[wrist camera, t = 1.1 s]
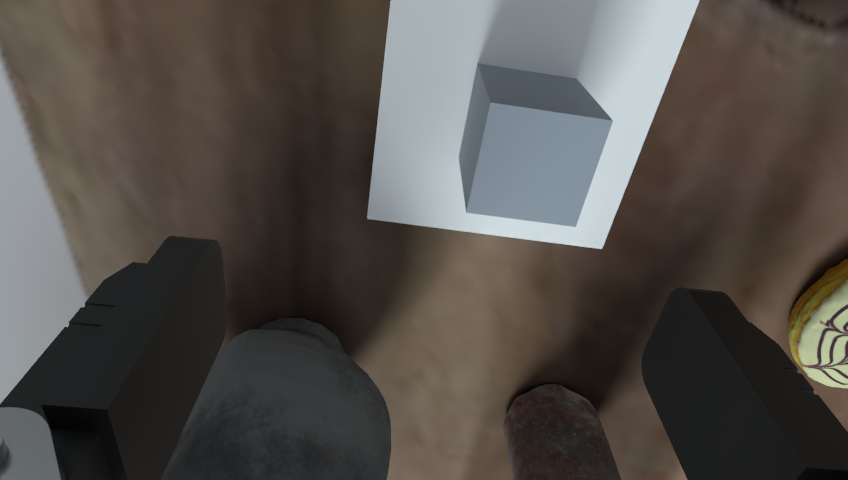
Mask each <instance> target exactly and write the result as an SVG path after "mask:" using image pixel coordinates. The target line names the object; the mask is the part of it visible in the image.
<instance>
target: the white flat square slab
mask: <svg viewBox="0 0 848 480" xmlns="http://www.w3.org/2000/svg"><path fill="white" fill-rule="evenodd" d="M698 3H699V0H391V1H390V10H389V20H388V29H387V38H386V47H385V57H384V66H383V75H382V84H381V93H380V103H379V112H378V121H377V130H376V140H375V149H374V158H373V167H372V176H371V186H370V195H369V204H368V213H367V219H372V220H380V221H387V222H395V223H403V224H411V225H419V226H426V227H434V228H442V229H450V230H457V231H465V232H473V233H481V234H489V235H496V236H504V237H512V238H520V239H527V240H535V241H543V242H551V243H559V244H566V245H574V246H582V247H590V248H597V249H602V248H603V245H604V243H605V240H606V238H607V235H608V232H609V230H610V227H611V225H612V222H613V220H614V217H615V215H616V212H617V210H618V207H619V204H620V202H621V199H622V197H623V194H624V192H625V189H626V187H627V184H628V181H629V179H630V176H631V174H632V171H633V169H634V166H635V164H636V161H637V158H638V156H639V153H640V151H641V148H642V146H643V143H644V141H645V138H646V136H647V133H648V130H649V128H650V125H651V123H652V120H653V118H654V115H655V113H656V110H657V107H658V105H659V102H660V100H661V97H662V95H663V92H664V90H665V87H666V85H667V82H668V79H669V77H670V74H671V72H672V69H673V67H674V64H675V62H676V59H677V56H678V54H679V51H680V49H681V46H682V44H683V41H684V39H685V36H686V34H687V31H688V28H689V26H690V23H691V21H692V18H693V16H694V13H695V11H696V8H697V5H698ZM477 63H479V64H485V65H492V66H498V67H505V68H511V69H518V70H524V71H531V72H537V73H543V74H550V75H556V76H563V77H569V78H576V79H577V80H578V81H579V82H580V83H581V84H582V85H583V86H584V88H585V89H586V90H587V91H588V92H589V93H590V95H591V96H592V97H593V98H594V99H595V100H596V101H597V103H598V104H599V105H600V106H601V107H602V108H603V110H604V111H605V112H606V113H607V114H608V115H609V116H610V118H611V119H612V120H613V123H612V125H611V128H610V131H609V134H608V137H607V140H606V143H605V145H604V148H603V151H602V154H601V157H600V160H599V162H598V165H597V168H596V171H595V174H594V177H593V180H592V182H591V185H590V188H589V191H588V194H587V197H586V199H585V202H584V205H583V208H582V211H581V214H580V216H579V219H578V222H577V225H576V227H572V226H564V225H556V224H549V223H541V222H534V221H526V220H518V219H511V218H503V217H496V216H488V215H480V214H473V213H466V207H465V200H464V193H463V186H462V179H461V172H460V164H459V153H460V148H461V143H462V138H463V133H464V128H465V123H466V118H467V113H468V108H469V103H470V98H471V93H472V88H473V83H474V78H475V73H476V68H477Z"/></svg>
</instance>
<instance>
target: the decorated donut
mask: <svg viewBox="0 0 848 480" xmlns="http://www.w3.org/2000/svg"><path fill="white" fill-rule="evenodd" d="M791 310H792V311H791V315H790V317H789V320H788V321H789V324H788V329H787V332H788V341H789V345H790V349H791V352H792V355H793V358H794V359H795V361H796V362H797V364H798V365H799V366H800V367H801V368H802V369H803V370H804V371H805V372H806V373H807V375H808V376H809V377H811V378H812V379H813V380H816V381H818V382H820V383H823V384H825V385H827V386H832V387H840V388H848V258H847V259H845V260H844V261H842V262H840V264H838V265H837V266H834V267H831V268H829V269H828V270H827V271H826V272H825V274H824V275H823V276H822V277H821V278H820V279H819V280H818V281H817V282H816V283H815V284H813V285H812V286H811V287H810V288H808V290H807V291H806V292H805V293H804V294H802V296H801V297H800V298H799V300H798V301H797V302H796V303H795V305H794V308H793V309H791Z"/></svg>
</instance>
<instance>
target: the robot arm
mask: <svg viewBox="0 0 848 480" xmlns="http://www.w3.org/2000/svg"><path fill="white" fill-rule="evenodd" d="M226 325H227V302H226V292H225V282H224V272H223V263H222V253H221V248H220V245H219V243H218V241H216V240H207V239H197V238H187V237H177V236H170V237H168V238H167V239H166V240H165V241H164V242H163V243H162V245H161V246H160V247H159V249H158V250H157V251H156V253H155V254H154V255H153V257H152V258H151V259H150V261H149V262H148V263H147V264H146V263H135V262H133V263H131V264H129V265H128V266H126V267H125V268H123V269H121V270H120V271H118V272H116V273H115V274H113V275H112V276H110V277H108V278H107V279H105V280H104V281H103V282H102V283H101V284H100V286H99V287H98V288H97V289H96V290H95V292H94V293H93V294H92V295H91V296H90V298H89V299H88V300H87V301H86V302H85V307H84V308H80V310H79V311H78V312H77V313H76V314H75V316H74V317H73V318H72V319H71V320H70V322H69V326H68V327H65V328H64V329H63V330H62V331H61V332H60V334H59V335H58V336H57V337H56V338H55V340H54V341H53V342H52V343H51V344H50V345H49V347H48V348H47V349H46V350H45V351H44V353H43V354H42V355H41V356H40V357H39V359H38V360H37V361H36V362H35V364H34V365H33V366H32V367H31V368H30V370H29V371H28V372H27V373H26V374H25V375H24V377H23V378H22V379H21V380H20V382H19V383H18V384H17V385H16V386H15V388H14V389H13V390H12V391H11V392H10V394H9V395H8V396H7V397H6V398H5V399H4V401H3V402H2V403H1V404H0V480H161V478H162V476H163V473H164V471H165V469H166V467H167V465H168V462H169V460H170V458H171V456H172V454H173V451H174V449H175V447H176V445H177V443H178V440H179V438H180V436H181V434H182V432H183V429H184V427H185V425H186V423H187V420H188V418H189V416H190V414H191V412H192V409H193V407H194V405H195V403H196V401H197V398H198V396H199V394H200V392H201V390H202V387H203V385H204V383H205V381H206V379H207V376H208V374H209V372H210V370H211V367H212V365H213V363H214V361H215V359H216V356H217V354H218V352H219V350H220V348H221V345H222V342H223V339H224V336H225V331H226ZM642 376H643V380H644V383H645V386H646V388H647V390H648V393H649V395H650V397H651V399H652V401H653V404H654V406H655V408H656V410H657V413H658V415H659V417H660V419H661V421H662V424H663V426H664V428H665V430H666V433H667V435H668V437H669V439H670V442H671V444H672V446H673V448H674V450H675V453H676V455H677V457H678V459H679V462H680V464H681V466H682V468H683V470H684V473H685V475H686V477H687V479H688V480H848V432H847V431H846V430H845V428H844V427H843V426H842V425H841V423H840V422H839V421H838V419H837V418H836V417H835V416H834V414H833V413H832V412H831V411H830V409H829V408H828V407H827V405H826V404H825V403H824V402H823V400H822V399H821V398H820V397H819V395H815V394H814V393H813V390H814V389H813V388H812V386H811V385H810V384H809V383H808V381H807V380H806V379H805V378H804V376H803V375H802V374H798V373H797V367H796V366H795V365H794V364H793V362H792V361H791V360H790V358H789V357H788V356H787V355H786V353H785V352H784V351H783V350H782V348H781V347H780V346H779V345H778V344H777V343H776V342H775V341H773V340H772V339H771V338H770V337H768V336H767V335H766V334H765V333H763V332H762V331H761V330H760V329H758V328H757V327H756V326H754V325H753V324H752V323H749V322H748V321H747V320H746V318H745V317H744V316H743V314H742V313H741V312H740V311H739V309H738V308H737V307H736V305H735V304H734V303H733V301H732V300H731V299H730V297H729V296H728V295H727V294H725V293H723V292H720V291H710V290H699V289H689V288H677V289H675V290H674V291H673V292H672V293H671V294H670V296H669V298H668V300H667V302H666V304H665V306H664V308H663V310H662V312H661V315H660V317H659V319H658V321H657V323H656V325H655V327H654V330H653V332H652V334H651V336H650V338H649V340H648V342H647V345H646V347H645V349H644V352H643V356H642Z"/></svg>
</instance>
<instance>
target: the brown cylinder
mask: <svg viewBox="0 0 848 480" xmlns="http://www.w3.org/2000/svg"><path fill="white" fill-rule="evenodd" d="M503 427H504V433H505V439H506V445H507V450H508V455H509V460H510V465H511V470H512V475H513V480H621V478H620V475H619V472H618V469H617V466H616V463H615V460H614V457H613V455H612V452H611V449H610V446H609V443H608V441H607V438H606V435H605V433H604V430H603V427H602V425H601V422H600V419H599V417H598V414H597V412H596V411H595V409H594V407H593V406H592V404H591V403H590V402H589V401H588V399H586V398H584V397H582V396H581V395H579V394H577V393H574V392H572V391H570V390H568V389H566V388H564V387H563V386H562V385H556V384H546V385H543V386H538V387H536V388H534V389H532V390H530V391H529V392H527V393H525V394H523V395H520V396H519V397H517V398H516V399H515V400H514V402H513V403H512V405H511V407H510V409H509V411H508V413H507V415H506V418H505V420H504V424H503Z"/></svg>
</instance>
